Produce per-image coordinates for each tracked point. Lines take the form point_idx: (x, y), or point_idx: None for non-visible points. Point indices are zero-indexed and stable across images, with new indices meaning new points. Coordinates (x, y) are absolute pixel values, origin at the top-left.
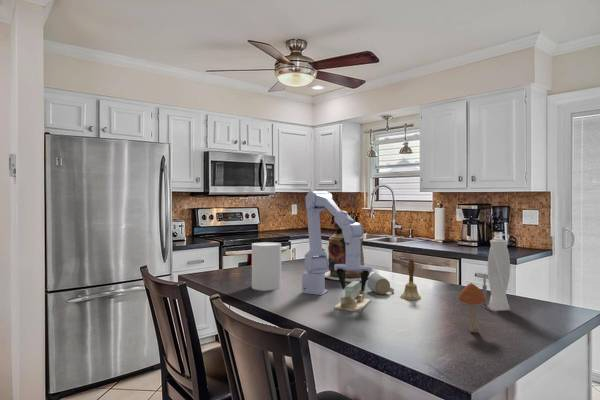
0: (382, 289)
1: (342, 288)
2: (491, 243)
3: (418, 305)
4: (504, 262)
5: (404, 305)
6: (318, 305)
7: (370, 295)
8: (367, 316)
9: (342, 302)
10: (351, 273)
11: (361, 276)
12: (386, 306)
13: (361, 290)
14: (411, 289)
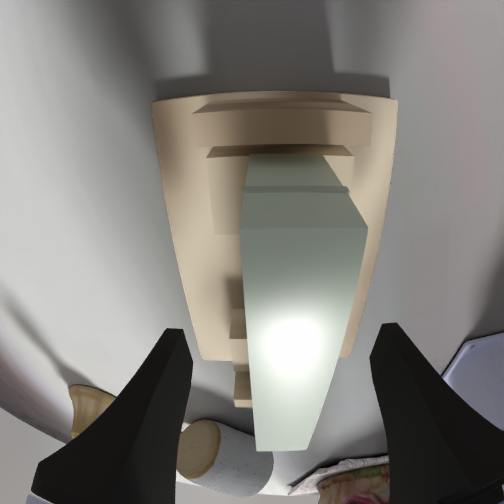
0: (197, 437)
1: (395, 326)
2: None
3: (24, 335)
4: None
5: (49, 326)
6: (494, 160)
7: (243, 408)
8: (79, 32)
9: (336, 103)
10: (349, 482)
11: (110, 473)
12: (87, 292)
13: (179, 331)
14: (78, 422)
